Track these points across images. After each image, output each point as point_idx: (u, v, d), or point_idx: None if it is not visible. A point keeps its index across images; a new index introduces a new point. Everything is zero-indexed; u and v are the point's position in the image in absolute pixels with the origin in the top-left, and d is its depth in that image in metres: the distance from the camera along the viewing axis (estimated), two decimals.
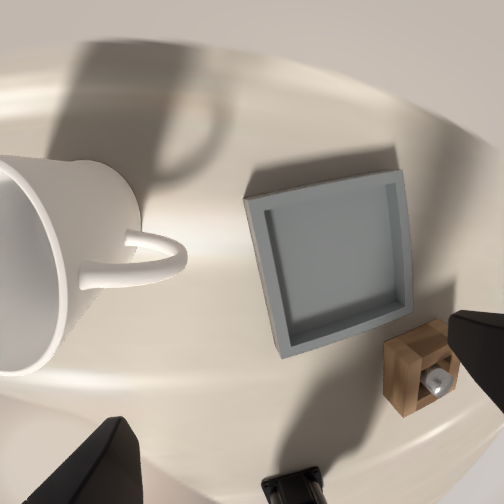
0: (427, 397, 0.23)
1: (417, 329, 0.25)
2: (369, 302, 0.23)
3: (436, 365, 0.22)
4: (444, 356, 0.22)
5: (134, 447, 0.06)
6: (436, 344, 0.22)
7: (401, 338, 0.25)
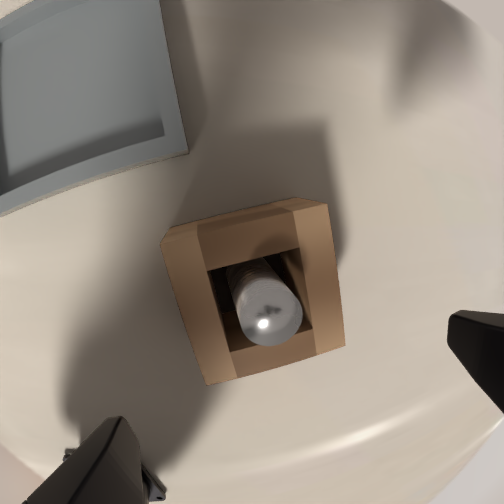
0: (259, 350, 0.13)
1: (243, 210, 0.15)
2: (114, 141, 0.13)
3: (265, 272, 0.12)
4: (275, 247, 0.12)
5: (134, 447, 0.06)
6: (251, 218, 0.12)
7: (201, 220, 0.15)
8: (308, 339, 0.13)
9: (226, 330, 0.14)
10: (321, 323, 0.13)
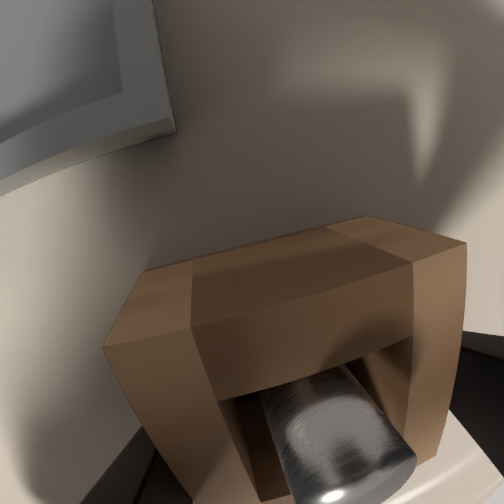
0: None
1: (278, 240, 0.08)
2: (42, 116, 0.06)
3: (338, 383, 0.05)
4: (369, 342, 0.05)
5: None
6: (317, 275, 0.05)
7: (201, 262, 0.08)
8: None
9: (249, 446, 0.07)
10: (414, 441, 0.06)
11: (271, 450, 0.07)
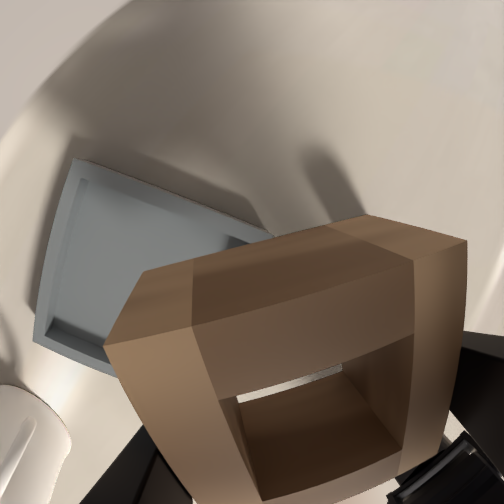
0: (314, 491, 0.06)
1: (278, 238, 0.08)
2: None
3: None
4: (371, 340, 0.05)
5: None
6: (318, 273, 0.05)
7: (201, 261, 0.08)
8: (391, 463, 0.06)
9: (250, 445, 0.07)
10: (416, 439, 0.06)
11: (272, 449, 0.07)
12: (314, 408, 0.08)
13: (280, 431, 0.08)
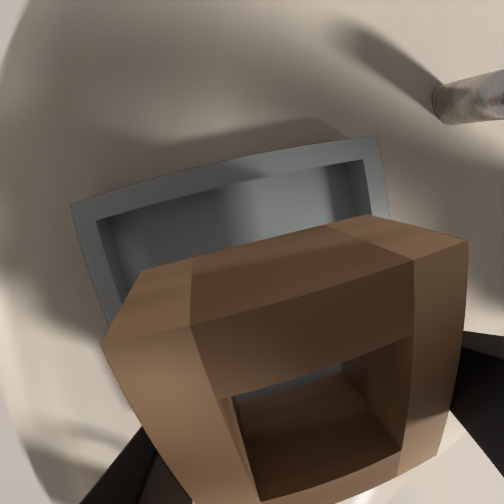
0: (312, 492, 0.06)
1: (278, 238, 0.08)
2: None
3: (481, 86, 0.09)
4: (370, 340, 0.05)
5: None
6: (317, 273, 0.05)
7: (200, 260, 0.08)
8: (390, 464, 0.06)
9: (248, 446, 0.07)
10: (415, 440, 0.06)
11: (271, 449, 0.07)
12: (313, 408, 0.08)
13: (279, 431, 0.08)
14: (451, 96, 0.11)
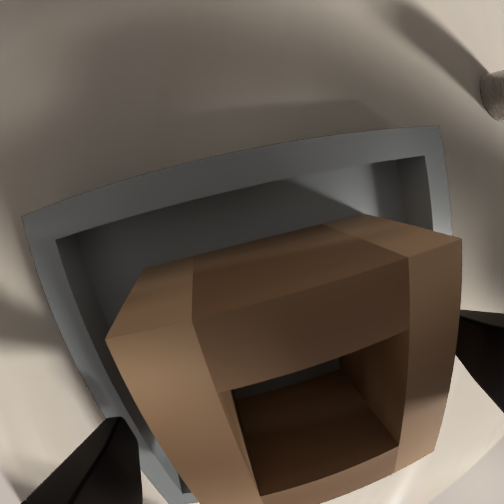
0: (311, 487, 0.06)
1: (277, 237, 0.08)
2: None
3: None
4: (366, 335, 0.05)
5: (133, 447, 0.06)
6: (315, 270, 0.05)
7: (201, 258, 0.08)
8: (388, 459, 0.06)
9: (248, 441, 0.08)
10: (413, 436, 0.06)
11: (270, 445, 0.07)
12: (312, 405, 0.09)
13: (278, 428, 0.08)
14: None
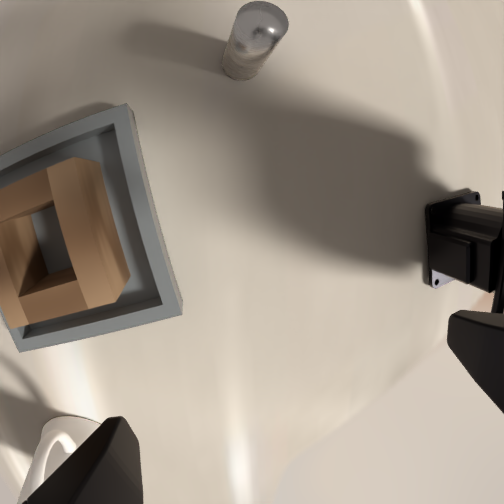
0: (38, 297, 0.12)
1: None
2: (117, 175, 0.15)
3: (230, 34, 0.12)
4: (35, 201, 0.11)
5: (134, 447, 0.06)
6: None
7: None
8: (76, 290, 0.12)
9: (35, 284, 0.13)
10: (84, 275, 0.12)
11: (40, 284, 0.13)
12: (70, 270, 0.14)
13: (50, 279, 0.14)
14: (225, 53, 0.14)
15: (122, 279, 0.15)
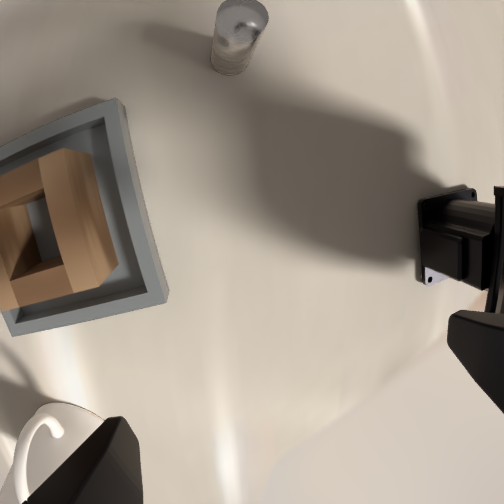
0: (28, 281, 0.12)
1: None
2: (108, 166, 0.15)
3: None
4: (27, 189, 0.11)
5: (134, 447, 0.06)
6: None
7: None
8: (62, 275, 0.12)
9: (27, 270, 0.14)
10: (70, 260, 0.12)
11: (32, 269, 0.14)
12: (61, 257, 0.15)
13: (41, 265, 0.14)
14: (212, 49, 0.14)
15: (108, 266, 0.15)
